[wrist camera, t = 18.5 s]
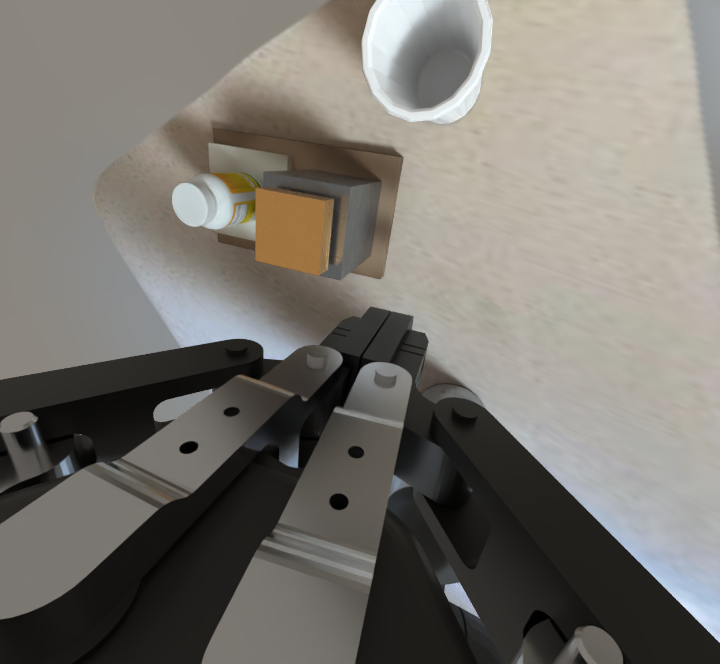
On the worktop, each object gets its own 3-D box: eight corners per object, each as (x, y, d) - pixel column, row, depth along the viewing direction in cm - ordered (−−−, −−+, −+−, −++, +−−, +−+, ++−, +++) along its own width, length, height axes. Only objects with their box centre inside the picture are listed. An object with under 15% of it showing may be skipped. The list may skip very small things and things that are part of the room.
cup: (486, 16, 32) (483, -75, 20) (497, 120, 35) (500, 97, 22) (396, 52, 35) (345, -7, 23) (413, 145, 38) (375, 137, 25)
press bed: (383, 275, 44) (377, 281, 42) (225, 239, 49) (213, 243, 47) (403, 157, 38) (398, 157, 36) (221, 129, 43) (207, 127, 41)
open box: (371, 255, 42) (340, 280, 34) (307, 241, 44) (262, 261, 35) (382, 181, 39) (350, 187, 30) (312, 169, 40) (263, 171, 32)
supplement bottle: (272, 218, 43) (220, 232, 35) (234, 222, 45) (176, 237, 37) (261, 168, 41) (203, 170, 33) (222, 174, 43) (157, 179, 34)
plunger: (361, 246, 41) (318, 275, 31) (312, 236, 43) (255, 260, 32) (369, 190, 39) (324, 200, 28) (316, 180, 40) (255, 187, 29)
